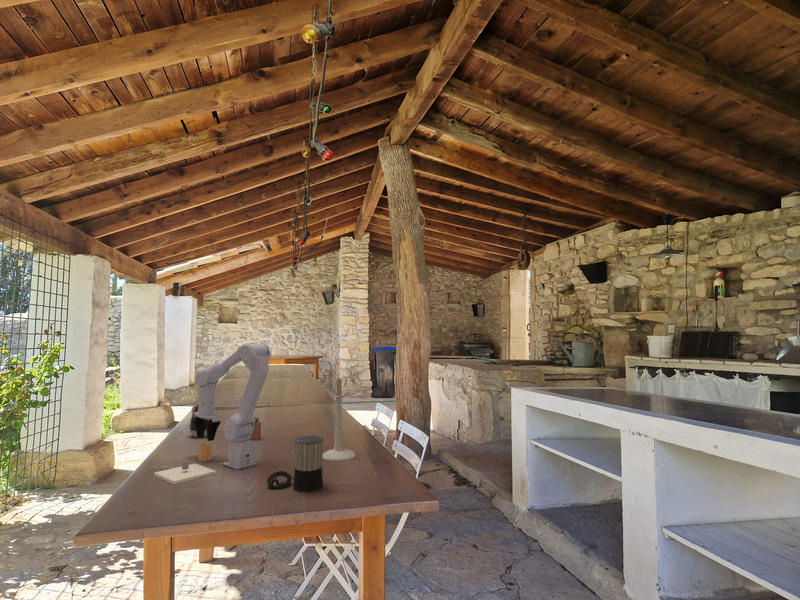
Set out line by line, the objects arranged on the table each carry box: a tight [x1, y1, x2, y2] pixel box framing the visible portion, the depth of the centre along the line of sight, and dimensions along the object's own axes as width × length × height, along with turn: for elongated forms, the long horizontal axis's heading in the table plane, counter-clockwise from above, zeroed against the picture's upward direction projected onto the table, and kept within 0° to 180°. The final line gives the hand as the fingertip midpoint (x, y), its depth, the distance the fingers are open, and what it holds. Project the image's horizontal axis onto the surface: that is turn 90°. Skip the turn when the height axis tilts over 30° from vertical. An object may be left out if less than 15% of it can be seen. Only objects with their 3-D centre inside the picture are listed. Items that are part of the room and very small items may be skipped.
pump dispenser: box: [189, 404, 209, 439], centre depth 216 cm, size 10×10×15 cm
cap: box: [197, 443, 214, 462], centre depth 178 cm, size 5×5×5 cm
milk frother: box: [266, 434, 325, 493], centre depth 147 cm, size 14×16×15 cm
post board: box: [153, 459, 217, 485], centre depth 159 cm, size 14×14×5 cm
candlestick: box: [323, 377, 357, 462], centre depth 182 cm, size 13×13×30 cm
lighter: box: [249, 415, 262, 441], centre depth 209 cm, size 8×3×10 cm, turn 84°
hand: (205, 438), depth 178 cm, fingers open, 7 cm apart
